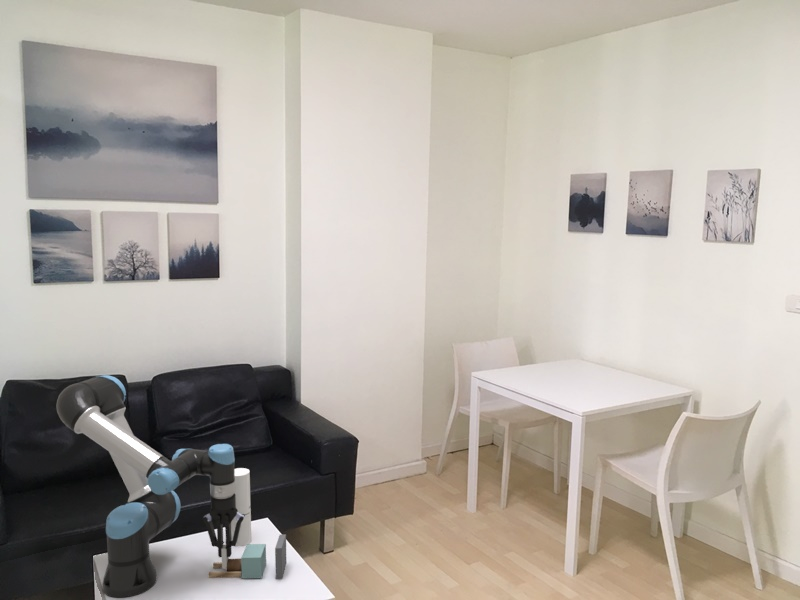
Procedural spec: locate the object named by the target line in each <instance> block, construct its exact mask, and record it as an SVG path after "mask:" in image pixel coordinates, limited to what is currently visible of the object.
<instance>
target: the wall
mask: <svg viewBox="0 0 800 600" xmlns="http://www.w3.org/2000/svg"><path fill="white" fill-rule="evenodd" d="M274 551H275V552H274V554H275V557H274V558H275V560H274V561H275V563H274V564H275V580H283V579H284V574H285V572H286V571H285V570H286V567H287V534H279V536H278V538H277V542H276V544H275V548H274Z"/></svg>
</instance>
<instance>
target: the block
mask: <svg viewBox="0 0 800 600" xmlns="http://www.w3.org/2000/svg"><path fill="white" fill-rule="evenodd" d="M240 559H241V567H242V572H241V575H242V576H241V579H262V577H263V574H264V571H265V568H266V565H267V544H266V543H249V544H247V545H245V548H244V550H243V553H242V555H241V558H240Z"/></svg>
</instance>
